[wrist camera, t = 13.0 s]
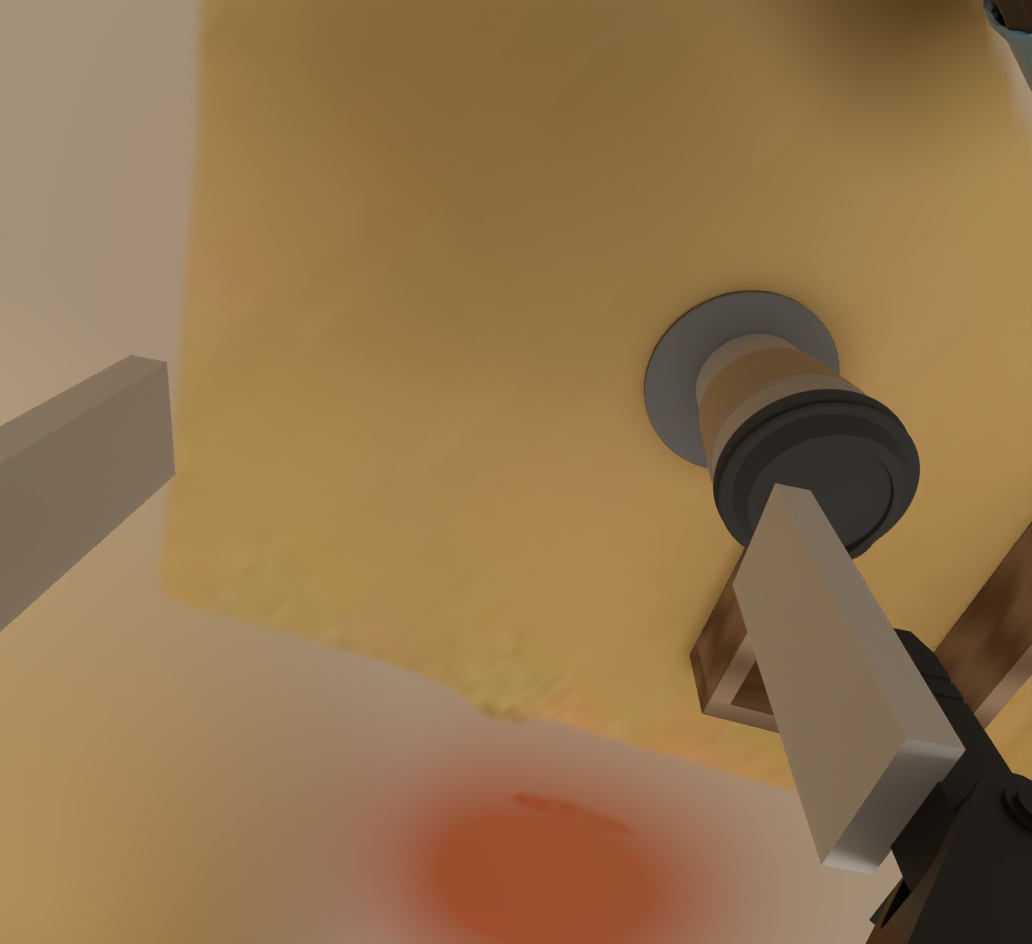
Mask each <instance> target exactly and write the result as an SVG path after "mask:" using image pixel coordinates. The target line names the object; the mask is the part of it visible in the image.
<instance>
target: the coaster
mask: <svg viewBox="0 0 1032 944" xmlns="http://www.w3.org/2000/svg"><path fill="white" fill-rule="evenodd" d="M750 334H769V335H774V336H777V337H780V338H782V339H784V340H786V341H788V342H789V343H791V344H792V345H794V346H795V347H796V348H798V349H799V350H800V351H802V352H805V353H807V354H809V355H811V356H813V357H814V358H816V359H817V360H819V361H820V362H822V363H823V364H824V365H826V366H827V367H829V368H830V369H831V370H833V371H834V372H836V373H837V374H839V360H838V354H837V350H836V347H835V344H834V342H833V339H832V337H831V335H830V333H829V332H828V330H827V329H826V327H825V326H824V325H823V323H822V322H821V321H820V320H819V319H818V318H817V317H816V316H815V315H814V314H813V313H812V312H811V311H809V310H808V309H807V308H805V307H804V306H803V305H801V304H799V303H798V302H796V301H794V300H792V299H790V298H787V297H784V296H782V295H779V294H774V293H770V292H763V291H739V292H734V293H728V294H724V295H721V296H718V297H715V298H712V299H710V300H708V301H705V302H703V303H701V304H699V305H698V306H696V307H694V308H693V309H691V310H689V311H688V312H687V313H685V314H684V315H683V316H682V317H680V318H679V319H678V320H677V321H676V322H675V323H674V324H673V325H672V326H671V327H670V328H669V329H668V330H667V332H666V333H665V334H664V335H663V337H662V338H661V339H660V341H659V343H658V344H657V346H656V348H655V350H654V352H653V354H652V356H651V358H650V361H649V365H648V368H647V371H646V378H645V401H646V407H647V411H648V414H649V418H650V420H651V423H652V425H653V427H654V429H655V431H656V432H657V434H658V436H659V437H660V438H661V440H662V441H663V442H664V443H665V444H666V446H668V447H669V448H670V449H671V450H672V451H673V452H674V453H676V454H677V455H679V456H680V457H682V458H683V459H685V460H687V461H689V462H691V463H693V464H696V465H699V466H702V467H704V468H708V463H707V459H706V454H705V449H704V445H703V440H702V435H701V430H700V426H699V408H698V404H697V399H696V382H697V378H698V375H699V372H700V370H701V368H702V366H703V364H704V363H705V362H706V360H707V359H708V358H709V356H710V355H711V354H712V353H713V352H714V351H715V350H717V349H718V348H719V347H720V346H722V345H723V344H725V343H727V342H729V341H731V340H733V339H735V338H738V337H741V336H745V335H750Z"/></svg>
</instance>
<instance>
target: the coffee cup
mask: <svg viewBox="0 0 1032 944" xmlns="http://www.w3.org/2000/svg"><path fill="white" fill-rule="evenodd" d="M696 399H697V404H698V408H699V426H700V430H701V435H702V440H703V445H704V449H705V454H706V459H707V463H708V468H709V473H710V477H711V481H712V483H713V493H714V499H715V504H716V507H717V510H718V512H719V514H720V516H721V518H722V520H723V522H724V524H725V526H726V528H727V529H728V531H729V532H730V534H731V535H732V536H733V537H734V538H735V539H736V540H737V541H738V542H739V543H740V544H741V545H742V546H744V547H745V548H746V549H748V547H749V544H750V542H751V540H752V537H753V535H754V532H755V530H756V528H757V525H758V523H759V521H760V518H761V516H762V513H763V511H764V509H765V506H766V504H767V502H768V499H769V497H770V494H771V492H772V490H773V487H774V485H775V483H776V484H781V485H786V486H791V487H796V488H801V489H806V490H810V491H811V492H812V494H813V496H814V497H815V499H816V501H817V502H818V504H819V506H820V507H821V509H822V511H823V512H824V514H825V516H826V517H827V519H828V521H829V522H830V524H831V526H832V527H833V529H834V531H835V532H836V534H837V536H838V537H839V539H840V541H841V542H842V544H843V546H844V547H845V549H846V551H847V552H848V554H849V556H850V557H851V559H854V558H857V557H858V556H860V555H862V554H863V553H864V552H866V551H867V550H868V549H869V548H870V547H871V545H872V544H873V543H874V542H875V541H876V540H878V539H879V538H880V537H882V536H883V535H884V534H885V533H887V532H888V531H889V530H890V529H891V528H892V527H893V526H894V525H895V524H896V523H897V522H898V521H899V520H900V518H901V517H902V516H903V514H904V513H905V512H906V510H907V509H908V507H909V505H910V503H911V502H912V500H913V497H914V495H915V492H916V489H917V486H918V482H919V475H920V463H919V457H918V453H917V449H916V447H915V444H914V442H913V441H912V439H911V437H910V436H909V434H908V433H907V431H906V429H905V427H904V425H903V424H902V422H901V421H900V420H899V418H898V417H897V416H896V415H895V414H894V413H893V412H892V411H891V410H890V409H889V408H887V407H886V406H885V405H883V404H882V403H880V402H878V401H877V400H875V399H873V398H871V397H868V396H867V395H866V394H865V393H864V392H862V391H861V390H860V389H858V388H857V387H856V386H854V385H853V384H851V383H850V382H848V381H847V380H846V379H844V378H843V377H841V376H840V375H839V374H837V373H836V372H834V371H833V370H831V369H830V368H829V367H827V366H826V365H824V364H823V363H822V362H820V361H819V360H817V359H816V358H814V357H813V356H811V355H809V354H807V353H805V352H802V351H800V350H799V349H798V348H796V347H795V346H794V345H792V344H791V343H789V342H788V341H786V340H784V339H782V338H780V337H777V336H774V335H769V334H750V335H745V336H741V337H738V338H735V339H733V340H731V341H729V342H727V343H725V344H723V345H722V346H720V347H719V348H718V349H717V350H715V351H714V352H713V353H712V354H711V355H710V356H709V358H708V359H707V360H706V362H705V363H704V364H703V366H702V368H701V370H700V372H699V375H698V378H697V382H696Z"/></svg>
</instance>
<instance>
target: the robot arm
mask: <svg viewBox="0 0 1032 944" xmlns="http://www.w3.org/2000/svg"><path fill="white" fill-rule="evenodd" d="M983 5H984V9H985V12H986V15H987V18H988V20H989V22H990V24H991V26H992V27H993V28H994V29H995V30H996V31H997V32H998V33H999V34H1000V35H1001V36H1002V37H1003V38H1004V39H1006V40H1007V42H1008V44H1009V46H1010V48H1011V50H1012V52H1013V54H1014V56H1015V58H1016V60H1017V63H1018V65H1019V67H1020V69H1021V71H1022V73H1023V75H1024V77H1025V79H1026V81H1027V83H1028V85H1029V87H1030V89H1031V91H1032V0H984V1H983ZM174 475H175V464H174V450H173V437H172V424H171V411H170V398H169V385H168V372H167V362H163V361H159V360H153V359H149V358H144V357H138V356H133V355H130V356H129V357H127V358H125V359H123V360H121V361H119V362H117V363H115V364H114V365H112V366H110V367H108V368H106V369H104V370H103V371H101V372H99V373H97V374H95V375H93V376H92V377H90V378H88V379H86V380H84V381H82V382H81V383H79V384H77V385H75V386H73V387H71V388H70V389H68V390H66V391H64V392H62V393H61V394H59V395H57V396H55V397H53V398H51V399H49V400H48V401H46V402H44V403H42V404H40V405H39V406H37V407H35V408H33V409H31V410H29V411H27V412H26V413H24V414H22V415H20V416H18V417H16V418H15V419H13V420H11V421H9V422H7V423H5V424H4V425H2V426H0V632H1V631H2V630H3V629H4V628H5V627H6V626H7V625H8V624H9V623H11V622H12V621H13V620H14V619H15V618H16V617H17V616H18V615H19V614H21V613H22V612H23V611H24V610H25V609H26V608H27V607H28V606H29V605H30V604H32V603H33V602H34V601H35V600H36V599H37V598H38V597H40V596H41V595H42V594H43V593H44V592H45V591H46V590H47V589H48V588H50V586H52V585H53V584H54V583H55V582H56V581H57V580H58V579H60V578H61V577H62V576H63V575H64V574H65V573H66V572H67V571H68V570H69V569H71V568H72V567H73V566H74V565H75V564H76V563H77V562H78V561H80V560H81V559H82V558H83V557H84V556H85V555H86V554H87V553H88V552H89V551H91V550H92V549H93V548H94V547H95V546H96V545H97V544H98V543H100V542H101V541H102V540H103V539H104V538H105V537H106V536H107V535H108V534H110V532H112V531H113V530H114V529H115V528H116V527H117V526H118V525H119V524H121V523H122V522H123V521H124V520H125V519H126V518H127V517H128V516H130V515H131V514H132V513H133V512H134V511H135V510H136V509H137V508H139V506H141V505H142V504H143V503H144V502H145V501H146V500H147V499H149V498H150V497H151V496H152V495H153V494H154V493H155V492H156V491H157V490H158V489H160V488H161V487H162V486H163V485H164V484H165V483H166V482H167V481H169V480H170V479H171V478H172V477H173V476H174ZM733 588H734V591H735V594H736V597H737V600H738V603H739V606H740V610H741V613H742V616H743V619H744V622H745V625H746V629H747V632H748V635H749V638H750V641H751V644H752V647H753V651H754V654H755V657H756V660H757V663H758V666H759V670H760V673H761V676H762V679H763V682H764V685H765V688H766V692H767V695H768V698H769V701H770V704H771V707H772V711H773V714H774V717H775V720H776V723H777V726H778V729H779V733H780V736H781V739H782V742H783V745H784V748H785V752H786V755H787V758H788V761H789V764H790V767H791V770H792V774H793V777H794V780H795V783H796V786H797V789H798V793H799V796H800V799H801V802H802V805H803V808H804V811H805V815H806V818H807V821H808V824H809V827H810V830H811V834H812V837H813V840H814V843H815V846H816V849H817V853H818V856H819V858H820V862H821V865H824V866H829V867H834V868H839V869H845V870H850V871H856V872H860V873H865V874H871V875H873V874H874V872H875V871H876V870H877V868H878V867H879V866H880V864H881V863H882V862H883V860H884V859H885V858H886V856H887V855H888V854H889V852H890V851H891V850H892V851H893V854H894V856H895V859H896V861H897V864H898V866H899V868H900V871H901V873H902V876H903V877H902V879H901V880H900V881H899V883H898V884H897V885H896V887H895V888H894V889H893V890H892V891H891V893H890V894H889V895H888V897H887V898H886V899H885V900H884V902H883V903H882V904H881V905H880V907H879V908H878V909H877V911H876V912H875V913H874V915H873V916H872V917H871V918H870V921H871V922H872V923H873V924H875V926H874V928H873V930H872V932H871V934H870V936H869V938H868V940H867V943H866V944H1032V780H1030V779H1028V778H1026V777H1024V776H1022V775H1018V774H1014V773H1012V772H1011V770H1010V769H1009V767H1008V766H1007V764H1006V763H1005V761H1004V760H1003V758H1002V757H1001V755H1000V753H999V752H998V750H997V749H996V747H995V746H994V744H993V743H992V741H991V740H990V738H989V736H988V735H987V733H986V732H985V730H984V729H983V727H982V726H981V724H980V723H979V721H978V719H977V718H976V716H975V715H974V713H973V712H972V710H971V709H970V707H969V706H968V704H965V703H964V698H963V696H962V695H961V693H960V692H959V690H958V689H957V687H956V686H955V684H953V683H951V678H950V676H949V675H948V673H947V672H946V670H945V669H944V667H943V665H942V664H941V662H940V661H939V659H938V658H937V656H936V655H935V654H934V653H933V652H932V651H931V650H930V649H929V648H928V647H927V646H926V645H924V644H923V643H922V642H921V641H920V640H919V639H918V638H917V637H916V636H915V635H914V634H913V633H911V632H910V631H905V630H900V629H895V628H893V627H892V626H891V624H890V622H889V621H888V619H887V617H886V616H885V614H884V612H883V611H882V609H881V607H880V606H879V604H878V602H877V601H876V599H875V597H874V596H873V594H872V592H871V591H870V589H869V587H868V586H867V584H866V582H865V581H864V579H863V577H862V576H861V574H860V572H859V571H858V569H857V567H856V566H855V564H854V562H853V561H852V559H851V557H850V556H849V554H848V552H847V551H846V549H845V547H844V546H843V544H842V542H841V541H840V539H839V537H838V536H837V534H836V532H835V531H834V529H833V527H832V526H831V524H830V522H829V521H828V519H827V517H826V516H825V514H824V512H823V511H822V509H821V507H820V506H819V504H818V502H817V501H816V499H815V497H814V496H813V494H812V492H811V491H810V490H806V489H801V488H796V487H791V486H786V485H781V484H776V483H775V485H774V487H773V490H772V492H771V494H770V497H769V499H768V502H767V504H766V506H765V509H764V511H763V513H762V516H761V518H760V521H759V523H758V525H757V528H756V530H755V532H754V535H753V537H752V540H751V542H750V544H749V547H748V549H747V551H746V554H745V556H744V559H743V561H742V563H741V566H740V568H739V571H738V573H737V575H736V578H735V580H734V582H733Z"/></svg>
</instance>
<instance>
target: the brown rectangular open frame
mask: <svg viewBox="0 0 1032 944" xmlns="http://www.w3.org/2000/svg"><path fill="white" fill-rule="evenodd" d="M746 551H747V549H746V548H745V550H744V552H743V554H742V556H741V558H740V560H739V562H738V564H737V565H736V567H735V569H734V571H733V573H732V575H731V577H730V579H729V581H728V583H727V585H726V587H725V589H724V591H723V593H722V594H721V596H720V598H719V600H718V602H717V604H716V606H715V608H714V610H713V612H712V614H711V616H710V618H709V620H708V621H707V623H706V625H705V627H704V629H703V631H702V633H701V635H700V637H699V639H698V641H697V643H696V645H695V647H694V649H693V650H692V652H691V654H690V659H691V664H692V668H693V673H694V678H695V682H696V687H697V692H698V696H699V701H700V706H701V711H702V714H705V715H709V716H713V717H717V718H721V719H725V720H729V721H733V722H737V723H741V724H745V725H749V726H753V727H757V728H761V729H765V730H769V731H773V732H777V733H779V729H778V726H777V723H776V720H775V717H774V714H773V711H772V707H771V704H770V701H769V698H768V695H767V692H766V688H765V685H764V682H763V679H762V676H761V673H760V670H759V666H758V663H757V660H756V657H755V654H754V651H753V647H752V644H751V641H750V638H749V635H748V632H747V629H746V625H745V622H744V619H743V616H742V613H741V610H740V606H739V603H738V600H737V597H736V594H735V591H734V588H733V582H734V580H735V578H736V575H737V573H738V571H739V568H740V566H741V563H742V561H743V559H744V556H745V554H746ZM934 654H935V655H936V656H937V658H938V659H939V661H940V662H941V664H942V665H943V667H944V669H945V670H946V672H947V673H948V675H949V676H950V678H951V683H953V684H955V686H956V687H957V689H958V690H959V692H960V693H961V695H962V696H963V698H964V703H965V704H968V706H969V707H970V709H971V710H972V712H973V713H974V715H975V716H976V718H977V719H978V721H979V723H980V724H981V726H982V727H983V729H985V728H986V727H987V726H988V725H989V724H990V722H991V721H992V720H993V719H994V718H995V717H996V715H997V714H998V713H999V712H1000V711H1001V710H1002V708H1003V707H1004V706H1005V705H1006V704H1007V703H1008V701H1009V700H1010V699H1011V698H1012V697H1013V696H1014V695H1015V693H1016V692H1017V691H1018V690H1019V689H1020V688H1021V686H1022V685H1023V684H1024V683H1025V682H1026V681H1027V679H1028V678H1029V677H1030V676H1031V675H1032V523H1031V524H1030V526H1029V527H1028V528H1027V530H1026V531H1025V532H1024V534H1023V535H1022V536H1021V538H1020V539H1019V540H1018V542H1017V543H1016V544H1015V546H1014V547H1013V548H1012V550H1011V551H1010V552H1009V554H1008V555H1007V556H1006V558H1005V559H1004V560H1003V562H1002V563H1001V564H1000V566H999V567H998V568H997V570H996V571H995V572H994V574H993V575H992V576H991V578H990V579H989V580H988V582H987V583H986V584H985V586H984V587H983V588H982V590H981V591H980V592H979V594H978V595H977V596H976V598H975V599H974V600H973V602H972V603H971V604H970V606H969V607H968V608H967V610H966V611H965V612H964V614H963V615H962V616H961V618H960V619H959V620H958V622H957V623H956V624H955V626H954V627H953V628H952V630H951V631H950V632H949V634H948V635H947V636H946V638H945V639H944V640H943V642H942V643H941V644H940V646H939V647H938V648H937V650H936V651H935V652H934Z"/></svg>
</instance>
